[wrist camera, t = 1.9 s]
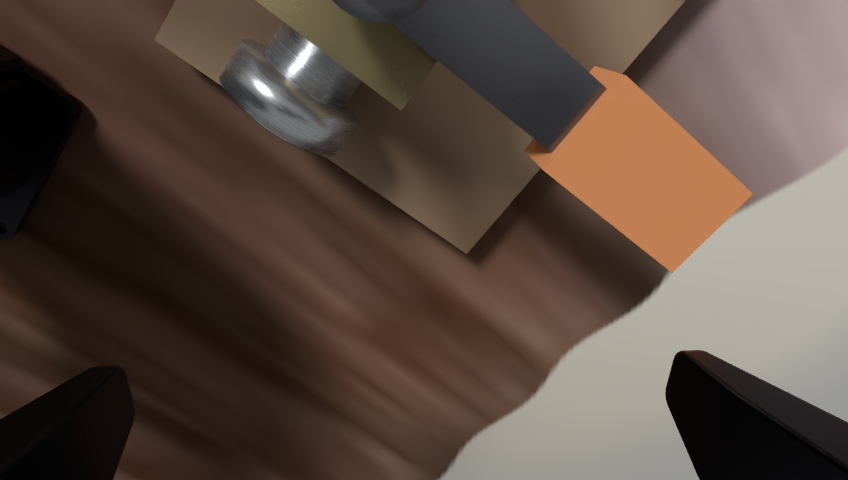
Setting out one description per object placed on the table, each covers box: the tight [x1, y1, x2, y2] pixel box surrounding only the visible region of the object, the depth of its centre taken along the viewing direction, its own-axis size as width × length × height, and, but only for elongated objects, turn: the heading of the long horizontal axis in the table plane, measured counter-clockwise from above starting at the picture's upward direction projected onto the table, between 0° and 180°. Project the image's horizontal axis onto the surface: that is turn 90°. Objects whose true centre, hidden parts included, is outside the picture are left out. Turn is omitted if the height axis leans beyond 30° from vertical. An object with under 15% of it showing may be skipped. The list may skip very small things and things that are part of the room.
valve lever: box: [332, 0, 753, 272], centre depth 12 cm, size 11×3×2 cm, turn 53°
